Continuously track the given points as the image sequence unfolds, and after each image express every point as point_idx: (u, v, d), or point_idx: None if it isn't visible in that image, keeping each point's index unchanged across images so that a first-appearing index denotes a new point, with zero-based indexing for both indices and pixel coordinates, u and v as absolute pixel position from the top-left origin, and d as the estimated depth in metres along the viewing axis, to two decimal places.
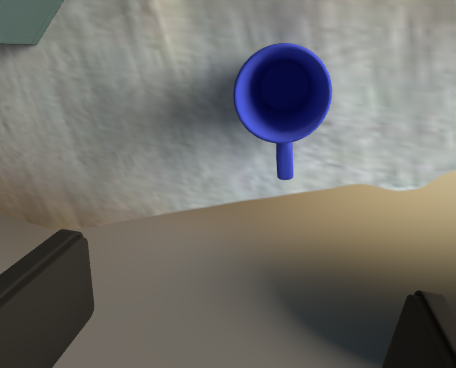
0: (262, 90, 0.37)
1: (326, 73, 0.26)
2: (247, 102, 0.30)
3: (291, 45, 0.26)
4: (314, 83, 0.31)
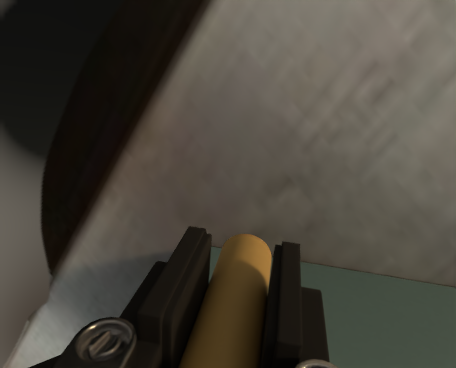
0: None
1: None
2: None
3: None
4: None
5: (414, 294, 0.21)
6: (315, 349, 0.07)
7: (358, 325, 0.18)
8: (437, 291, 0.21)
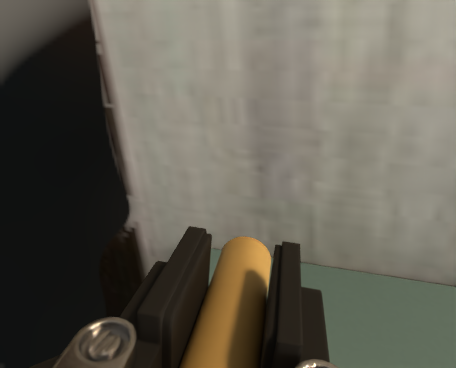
0: None
1: None
2: None
3: None
4: None
5: (415, 294, 0.21)
6: (315, 349, 0.07)
7: (359, 326, 0.18)
8: (438, 290, 0.21)
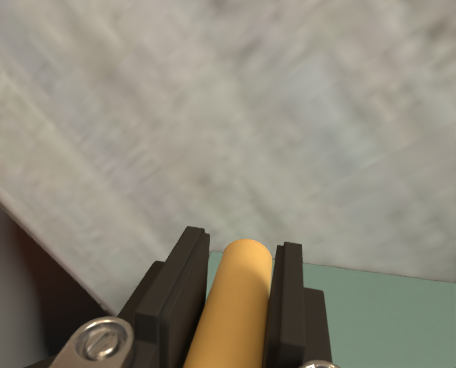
0: None
1: None
2: None
3: None
4: None
5: (420, 292, 0.21)
6: (318, 350, 0.07)
7: (364, 326, 0.18)
8: (443, 288, 0.21)
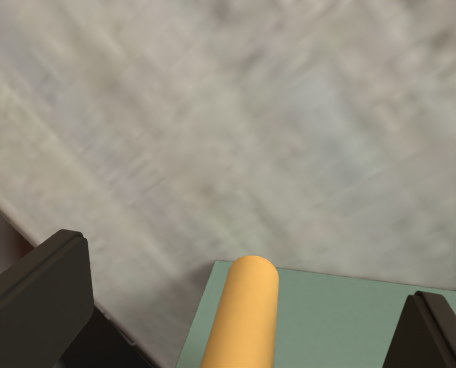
0: None
1: None
2: None
3: None
4: None
5: None
6: None
7: (371, 337, 0.18)
8: (450, 297, 0.21)
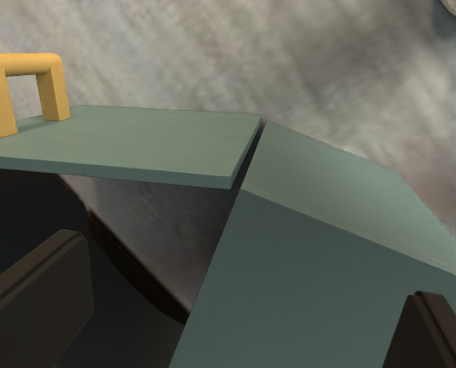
0: None
1: None
2: None
3: None
4: None
5: (170, 111, 0.44)
6: None
7: (128, 114, 0.41)
8: (183, 111, 0.44)
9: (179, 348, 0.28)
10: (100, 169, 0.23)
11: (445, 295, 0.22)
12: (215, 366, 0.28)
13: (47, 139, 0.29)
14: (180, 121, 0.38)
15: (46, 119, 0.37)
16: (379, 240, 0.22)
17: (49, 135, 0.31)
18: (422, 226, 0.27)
